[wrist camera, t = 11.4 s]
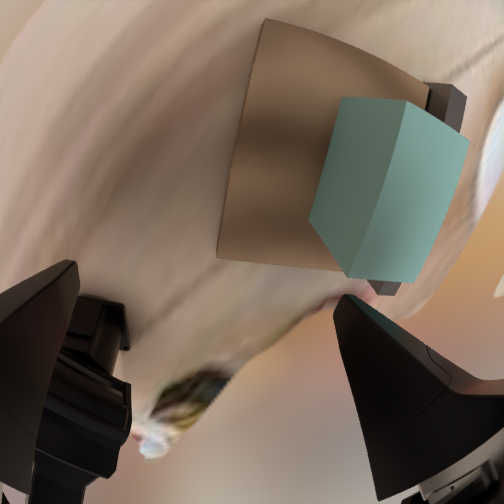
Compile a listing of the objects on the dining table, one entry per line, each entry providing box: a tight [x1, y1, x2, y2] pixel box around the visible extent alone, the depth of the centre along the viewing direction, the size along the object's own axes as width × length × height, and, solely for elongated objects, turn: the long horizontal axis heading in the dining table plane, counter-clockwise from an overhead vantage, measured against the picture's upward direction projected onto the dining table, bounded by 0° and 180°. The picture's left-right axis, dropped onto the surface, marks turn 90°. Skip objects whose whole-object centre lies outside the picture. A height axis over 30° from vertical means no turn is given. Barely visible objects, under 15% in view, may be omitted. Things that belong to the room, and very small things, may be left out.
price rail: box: [367, 82, 467, 296], centre depth 18 cm, size 18×2×4 cm, turn 168°
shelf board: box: [216, 18, 429, 272], centre depth 17 cm, size 17×13×1 cm
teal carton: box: [308, 97, 470, 283], centre depth 14 cm, size 5×9×7 cm, turn 168°
